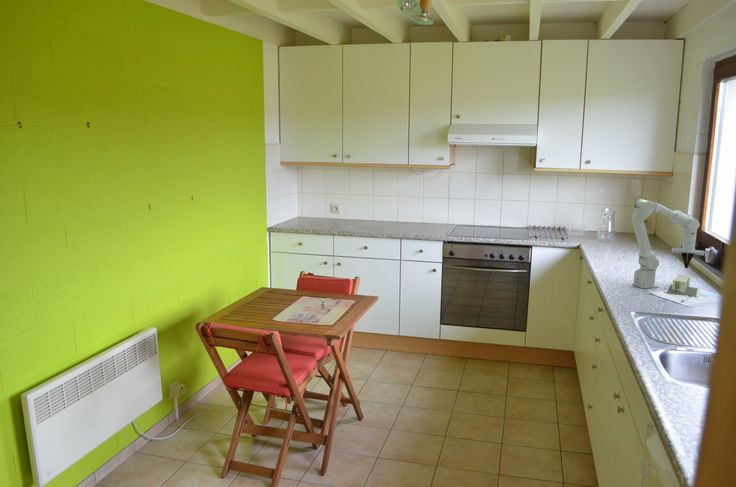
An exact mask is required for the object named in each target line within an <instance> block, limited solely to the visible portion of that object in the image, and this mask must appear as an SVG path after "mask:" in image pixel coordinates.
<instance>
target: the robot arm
mask: <svg viewBox="0 0 736 487" xmlns="http://www.w3.org/2000/svg"><path fill="white" fill-rule="evenodd" d="M632 209H633V210H632V214H631V220H630V221H631V223H632V227H633V231H634V233H635V238H636V241H637V245H638V249H639V253H638V263H639V264H638V265H639V266H640V268H639V269H636V270H635V271H634V273H633V274H634V275H633V283H632V286H635V287H638V288H641V289H652V288H659V286H658V285H657V284H656V273H657V269H658V268H659V266H660V261H659V259H658V258H657V257H656V254H655V252H654V251H653V250H652V247H651V242H650V239H649V235H648V232H647V228H646V224H645V220H646V218H647V217H648V216H650V215H651V214H653V213H661V215H665V216H666V217H669V220H670V221H672V222H673V223H675V224H677V225H679V226H682V227H683V231H682V232H683V233H682V241H681V244H682V245H681V248H673V247H672V248H671V253H673V254H675V253H676V254H680V256H681V257H682V260H683V264H684V269H689V265H690V262H691V260H692V259H693V258H694V255H696V256H697V255H698V256H703V257H704V256H705V250H700V249H698V250H697V249H696V239H697V231H698V229H699V228H700V226H701V223H700V222H699V220H698V219H697V218H695V217H692V216H691V215H690V214H685V212H684V213H683V211H682V210H671V209H669V208H668V207H666V206H664V205H663V204H660V203H658V202H655V201H654V202H653V200H646V199H643V198H638V199H637V200H636V201H635V202H634V203H633V205H632Z"/></svg>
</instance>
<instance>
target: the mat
mask: <svg viewBox="0 0 736 487" xmlns="http://www.w3.org/2000/svg"><path fill="white" fill-rule="evenodd" d="M700 289H701V288H700V287H693V286H689V287H688V289H687V290H686V291H685V292H684V293H683V292H676V291H672V284H668V285H667V287H666V289H665V291H664V294H668V295H669V294H671V295H677V296H685V295H688V296H687V297H693V296H697V297H696V298H698V297H699V294H700V293H699V292H700V291H701V290H700Z"/></svg>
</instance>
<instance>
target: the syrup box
mask: <svg viewBox="0 0 736 487" xmlns="http://www.w3.org/2000/svg"><path fill="white" fill-rule="evenodd" d="M690 284H691V275H686V274H677V275H676V276H675V277H674V278H673V279H672V284H671V285H672V291H676V292H683V293H684V292H685V291H686V290H687V289H688V287H690Z"/></svg>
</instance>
